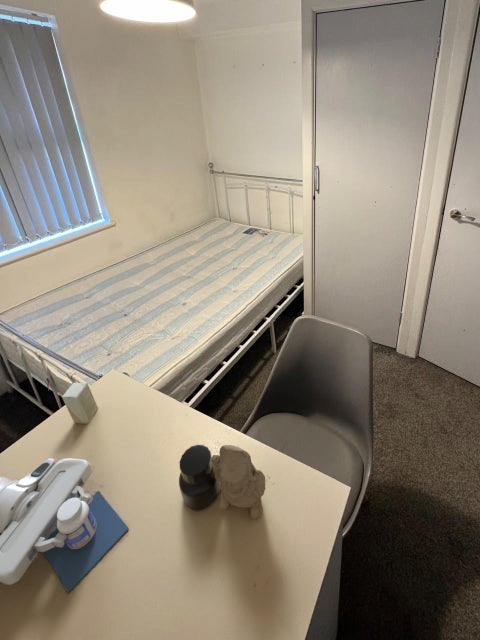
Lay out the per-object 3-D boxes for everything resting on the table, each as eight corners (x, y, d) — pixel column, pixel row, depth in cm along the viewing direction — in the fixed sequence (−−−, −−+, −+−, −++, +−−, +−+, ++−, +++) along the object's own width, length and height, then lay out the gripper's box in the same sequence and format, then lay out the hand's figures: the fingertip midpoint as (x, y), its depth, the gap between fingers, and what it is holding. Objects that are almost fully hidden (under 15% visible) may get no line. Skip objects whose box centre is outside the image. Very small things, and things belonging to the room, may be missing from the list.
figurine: (209, 512, 72) (196, 458, 64) (225, 479, 79) (216, 425, 70) (260, 535, 69) (254, 479, 60) (273, 498, 75) (269, 443, 67)
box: (85, 407, 97) (74, 381, 92) (98, 408, 97) (88, 381, 92) (73, 424, 92) (60, 397, 87) (87, 424, 92) (76, 397, 87)
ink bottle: (214, 462, 82) (208, 431, 77) (229, 493, 76) (223, 462, 71) (176, 487, 77) (167, 456, 72) (188, 523, 71) (179, 491, 66)
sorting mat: (40, 545, 67) (39, 544, 67) (98, 491, 76) (98, 490, 76) (68, 593, 61) (67, 593, 61) (129, 529, 70) (128, 528, 70)
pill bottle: (79, 517, 71) (66, 491, 66) (102, 519, 70) (90, 494, 66) (60, 548, 66) (44, 523, 62) (85, 552, 65) (71, 526, 61)
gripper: (-43, 567, 57) (26, 582, 55) (54, 450, 75) (108, 459, 73) (-27, 583, 59) (39, 598, 57) (62, 467, 78) (114, 476, 76)
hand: (78, 519), depth 65 cm, fingers closed on pill bottle, 5 cm apart
